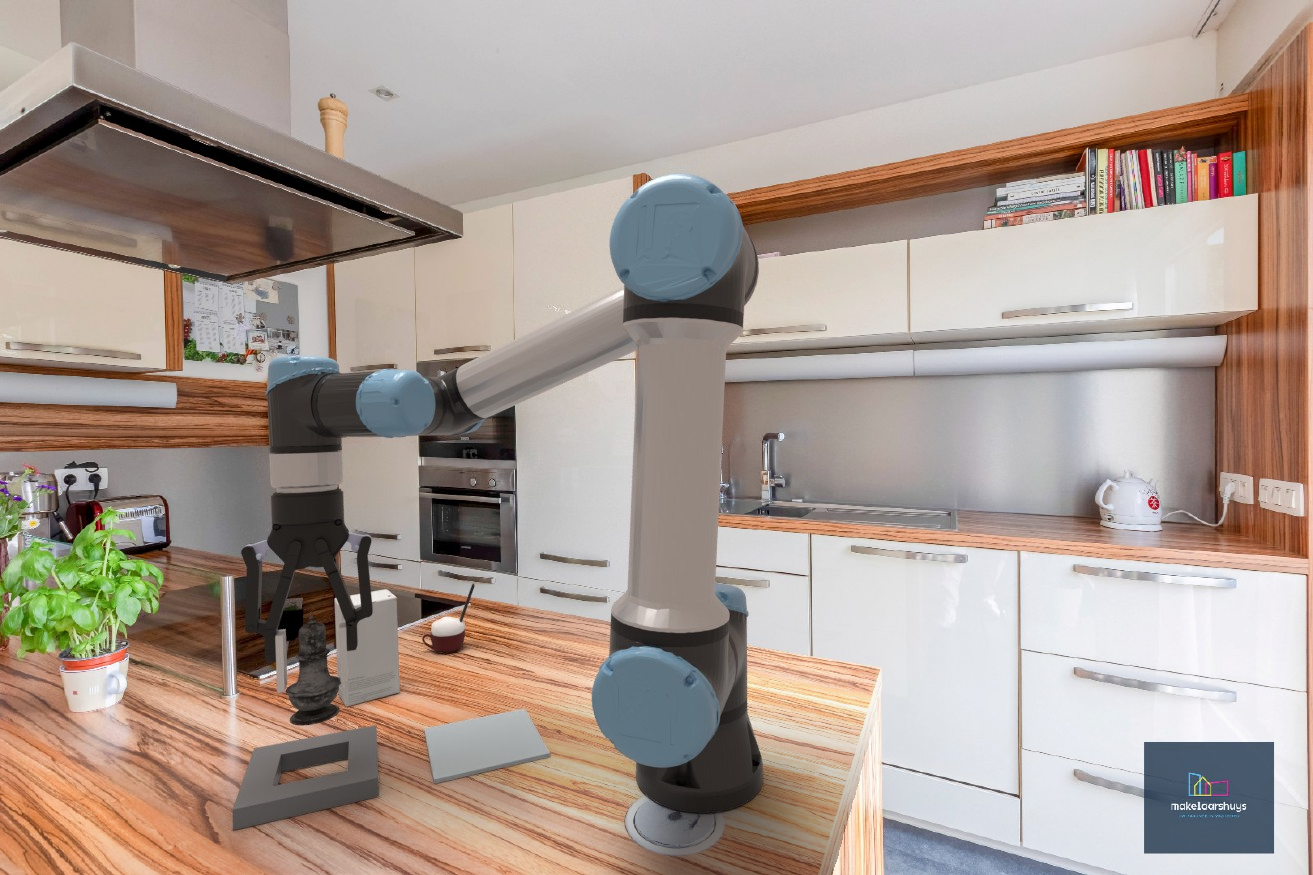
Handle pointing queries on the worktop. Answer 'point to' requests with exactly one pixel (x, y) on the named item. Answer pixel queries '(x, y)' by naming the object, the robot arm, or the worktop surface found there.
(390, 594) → the skincare box
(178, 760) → the worktop surface
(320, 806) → the grey square frame
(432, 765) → the mat
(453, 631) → the cocoa
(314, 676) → the salt shaker
